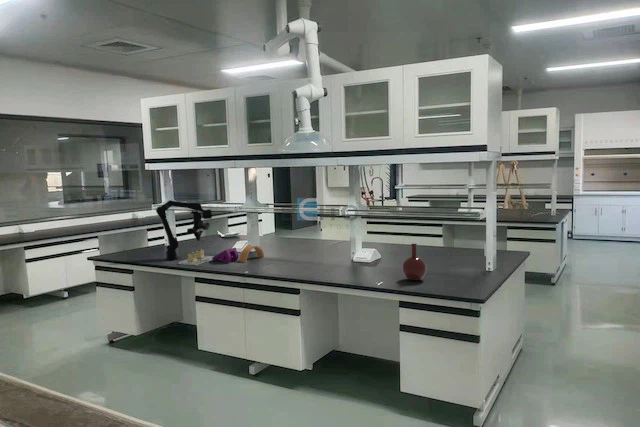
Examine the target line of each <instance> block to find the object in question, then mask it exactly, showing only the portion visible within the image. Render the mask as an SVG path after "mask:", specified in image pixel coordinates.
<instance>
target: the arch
mask: <svg viewBox="0 0 640 427" xmlns="http://www.w3.org/2000/svg"><path fill="white" fill-rule="evenodd" d="M253 249H254V250H255V251H256V255H257V258H260V259H261V258H263V259H264V258H265V253H264V250H263V248H261V247H260V246H258V245H246V246H245V247H244V248H243V249H242V250H241V252H240V254H239V255H240V256H239V263H245V264H246V263H247V261H248V256H249V253H250V252H251V251H252V250H253Z"/></svg>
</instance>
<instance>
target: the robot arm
mask: <svg viewBox="0 0 640 427" xmlns="http://www.w3.org/2000/svg"><path fill="white" fill-rule="evenodd" d="M171 207H175V208H177V207H179V208H185V209H189V210H191V211H190V214H191V215H192V219H193V220H192V222H191V223H192V224H193V226H192V227H189V228H187V229H186V233H190V234H191V233H192V234H193V235H194V237H195V239H196V240H197V241H200V240H201V236H202V234H203V232H205V231H207V230H209V228H210V225H211V224H210V222H204V221H203V220H209V219H212V218H213V214H212V210H211V209H203V207H202V204H201V203H200V202H197V201H196V202H184V201H175V200H171V199H170V200H167V202H165V203H164V204H162V205H161V206H157V207H156V209H155V212H156V214H157V215H158V217H159V219H160V221H161V223H162V225H163V228H164V231H165V234H166V236H167V242H168V245H167V246H166V247H165V250H166V251H165V255H166V256H165V257H166V258H165V259H164V260H165V261H175V260H178V257H177V248H178V247H179V242H178V238H177V237H176V236H175V237H174V234H173V232H172V230H171V227H170V223H169V221H168V219H167V212H166V211H168V209H170V208H171ZM202 219H203V220H202Z"/></svg>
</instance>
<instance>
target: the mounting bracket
mask: <svg viewBox="0 0 640 427" xmlns="http://www.w3.org/2000/svg"><path fill="white" fill-rule="evenodd" d="M213 256H214V255H213ZM238 259H239V253H238V251H237V248H236V247H232V248H227V249H225V250H223V251H221V252H220V253H218V254H216V255H215V256H214V257H212V260H211V261H212V262H216V261H219V260H220V262H222V263H223V264H230V263H231V262H236V261H238Z"/></svg>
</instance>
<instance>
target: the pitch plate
mask: <svg viewBox="0 0 640 427" xmlns="http://www.w3.org/2000/svg"><path fill="white" fill-rule="evenodd" d="M212 257H214V255H213V256H212V255H204V257H203V258H197V260H196V261H193V262H192V261H188V258H187V259H184V260H181V261H179V262H178V265H186V266H187V265H188V266H197V265H200V264H203V263H206V262H209V261H213V260H212Z"/></svg>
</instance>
